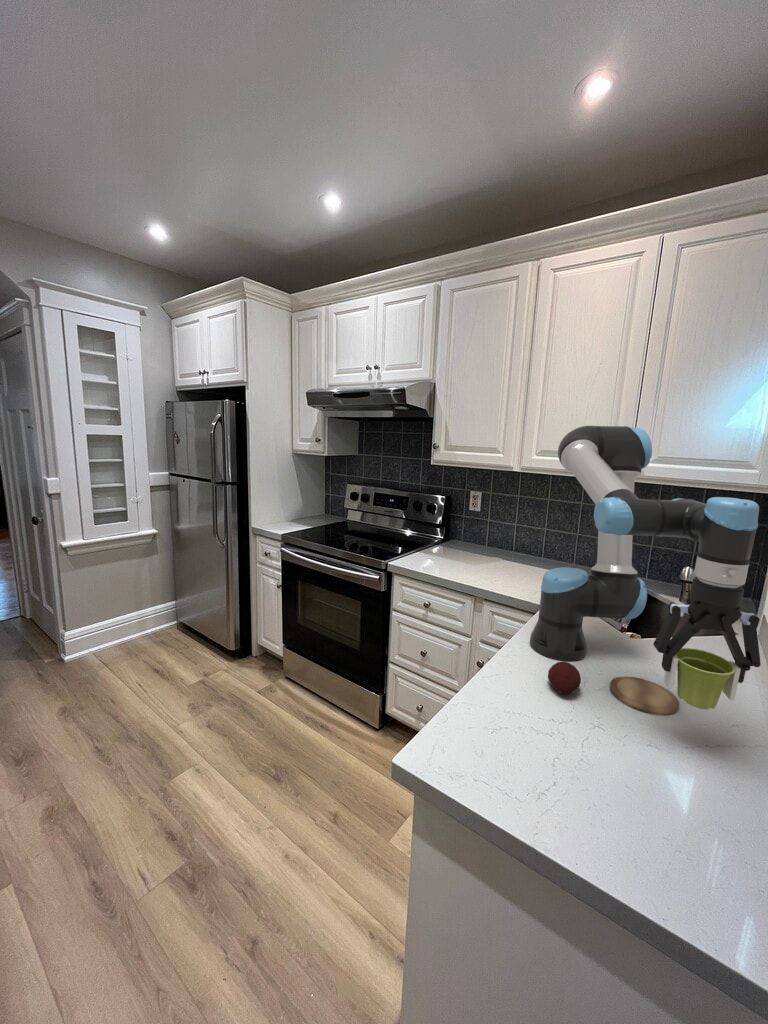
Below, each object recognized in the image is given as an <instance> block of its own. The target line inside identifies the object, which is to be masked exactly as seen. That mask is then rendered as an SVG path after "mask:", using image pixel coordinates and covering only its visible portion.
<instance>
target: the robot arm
mask: <svg viewBox="0 0 768 1024" xmlns="http://www.w3.org/2000/svg"><path fill="white" fill-rule="evenodd" d="M652 445H653V444H652V440H651V438H650V436H649V434H648V433H647V432H646V430H644V429H643V428H641V427H633V426H627V425H625V426H622V425H621V426H615V425H614V426H613V425H612V426H609V425H607V426H605V425H582V426H579V427H577V428H574V429H572V430H571V431H569V432H568V433H566V435H564V436H563V438H562V439H561V441H560V442H559V445H558V448H557V456H558V457H557V458H558V460H559V462H560V464H561V465H562V467H563V468H564V469H565V470H566V471H568V472H570V473H572V474H573V476H574V477H575V478H576V480H577V481H578V483H579V484H580V485H581V487H582V488H583V489H584V491H585V492H586V493H587V495H588V496H589V497H590V499H591V500H592V501H593V503H594V504H595V506H594V509H593V510H594V511H593V520H594V522H595V523H594V526H595V527H596V529H597V530H598V531H597V553H596V554H597V555H596V556H597V557H596V558H597V560H596V561H597V562H596V563H595V565H593V566H592V567H591V568H590V575H589V574H588V572H587V571H586V570H584V569H582V568H579V567H578V568H577V567H575V568H574V567H567V566H565V567H555V568H551V569H549V570H547V571H545V573H544V574H543V577H542V581H541V585H540V590H541V591H540V599H539V600H540V601H539V611H538V619H537V622H536V624H535V625H534V627H533V630H532V631H531V633H530V638H529V645H530V648H532V649H533V651H535V652H537V653H538V654H539V655H542V656H544V657H547V658H548V659H549V658H550V659H553V660H558V661H562V662H575V661H576V662H577V661H580V660H583V659H584V658H585V657H586V655H587V642H586V638H585V634H584V629H583V622H584V621H583V620H584V618H585V617H586V618H599V619H600V618H603V619H605V618H606V619H616V620H623V619H624V620H625V619H626V620H629V619H630V620H631V619H632V620H633V619H636V618H638V617H639V616H640V615H641V614H642V613H643V611H644V609H645V608H646V605H647V601H648V591H647V588H646V583H645V582H644V581H643V579H641V578H639V577H638V575H639V574H638V573H639V572H638V570H636V568H634V566H633V564H632V560H633V537H634V536H643V537H645V536H647V537H648V536H649V537H663V538H664V537H665V538H668V537H669V538H682V539H683V538H685V539H690V540H692V541H695V542H697V543H699V544H698V549H697V555H696V561H695V566H694V571H693V576H695V577H694V578H693V579H692V583H691V584H692V585H691V589H690V594H689V595H690V596H689V601H688V602H687V603H686V604H676V603H675V602H673V601H672V602H670V603H669V604H668V613H667V615H666V618H665V619H664V621H663V623H662V625H661V628H660V629H659V631H658V633H657V635H656V638H655V640H653V641H654V642H653V646H654V648H655V649H656V651H657V652H658V653H660V654H663V655H662V660H661V668H662V669H663V670H664V672H665V674H664V679H663V683H664V684H665V686H666V687H667V690H669V691H670V690H671V691H673V690H674V688H675V687H674V686H675V682H676V676H677V665H678V658H677V657H676V656H675V655H676V654H677V653H678V652H679V650H680V649H681V648H684V646H685V645H686V644H687V643H688V642H689V641H690V640H691V639H692V638H693V637H694V636H695V634H699V633H700V631H701V630H707V631H708V630H709V631H710V630H713V631H716V632H721V633H722V635H723V638H724V640H725V642H726V645H727V647H728V649H729V652H730V653H731V654H730V655H731V656H732V659H733V660H734V661H732V660H728V661H729V662H730V663H731V664H732V665H733V666H734V667H735V672H734V674H732V675H731V676H730V678H729V679H728V680H727V681H726V683H725V686H724V688H723V690H722V692H723V694H725V696H726V697H727V698H728V700H730V701H735V699H736V694H737V689H738V685H739V684H742V683H743V682H744V681H745V675H746V672H748V671H750V670H751V667H754V668H759V667H760V666H761V665H762V663H761V656H760V648H759V647H760V646H759V638H758V631H757V630H758V626H759V623H760V621H761V620H760V618H759V617H758V616H757V615H755V613H753V612H751V611H746V612H745V611H741V609H740V608H741V606H742V602H743V598H744V592H745V589H744V588H743V586H745V584H746V580H747V576H748V571H749V567H750V560H751V556H752V551H753V547H754V542H755V537H756V533H757V529H758V528H759V522H758V521H759V513H760V506H759V504H758V503H757V502H755V501H754V500H751V499H742V498H737V497H736V498H735V497H726V496H725V497H724V496H714V497H710V498H708V499H707V501H706V503H705V502H700V501H696V500H695V499H692V498H691V499H690V498H682V497H681V498H680V497H679V498H673V499H648V498H639V497H638V496H637V495H636V494H635V483H636V482H635V481H636V479H638V478H639V477H640V476H641V474H642V470H643V469H645V468H647V466H649V464H650V461H651V458H652V456H653V455H652V454H653V446H652ZM685 613H688V615H689V616H688V618H687V619H686V620H685V622H684V624H683V625H682V626H681V627H680V629H679V630H677V632H676V633H675V631H676V629H677V627H678V625H679V623H680V621H681V618H682V617H684V615H685ZM737 621H740V622H741V629H742V636H743V644H744V645H743V646H744V652H743V649H742V647H741V646H740V643H739V641H738V638H737V636H736V632H735V629H734V628H733V624H735V623H736V622H737ZM674 633H675V634H674ZM738 683H739V684H738Z"/></svg>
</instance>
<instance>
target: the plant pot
mask: <svg viewBox="0 0 768 1024" xmlns="http://www.w3.org/2000/svg"><path fill="white" fill-rule="evenodd" d="M675 656H676V657H677V658H678V665H677V671H676V676H677V678H676V679H677V689H676V690H677V691H676V694H677V696H678V698H679V699H681V700H683V701H684V702H685V704H687V705H688V706H691V707H694V708H697V709H700V710H709V709H715V708H716V707H717V704H718V702H719V699H720V697H721V695H722V692H723V688H724V686H725V683H726V681H727V680H728V679H729V678H730V676H731V675H732V674H734V672H735V667H734V666H733V665H732V664H731V663H730V662H729V661H730V660H728V659H725V657H722V656H719V655H717V654H715V653H712V652H710V651H707V650H702V649H698V648H690V647H682V648H681V649H680V650H679V652H678V653H677V654H676V655H675Z"/></svg>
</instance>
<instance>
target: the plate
mask: <svg viewBox="0 0 768 1024" xmlns="http://www.w3.org/2000/svg"><path fill="white" fill-rule="evenodd" d="M609 691H610V693H611V694H612V696H613V697H614V698H615V699H617V701H619V702H621V703H622V704H623V705H625V706H628V708H629V707H630V708H632V709H633V710H636V711H638V712H643V713H644V714H649V715H655V716H671V715H674V714H676V713H677V712H678V711H679V707H680V700H679V699H678V698H677V697H676V695H675V694H674V693H673V692H672V691H670V689H668V688H666V687H664V686H662V685H660V684H658V683H656V682H654V681H650V680H648V679H645V678H640V677H637V676H636V677H635V676H629V675H628V676H625V675H624V676H622V675H621V676H616V677H614V678H612V679H611V680H610V683H609Z"/></svg>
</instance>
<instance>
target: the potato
mask: <svg viewBox="0 0 768 1024" xmlns="http://www.w3.org/2000/svg"><path fill="white" fill-rule="evenodd" d="M547 678H548V681H549V683H550V684H551V687H553V689H555V690H556V691H557V692H559V693H560V694H563V695H571V694H573V693H575V692H576V691H577V690H579V687H580V686H581V683H582V681H581V680H582V679H581V673H580V671H579V670H578V669H577V667H576V666H575V665H574V664H572V663H571V662H569V661H558V662H556V663H553V665H552V666H551V667H550V668H549V669H548V673H547Z"/></svg>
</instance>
